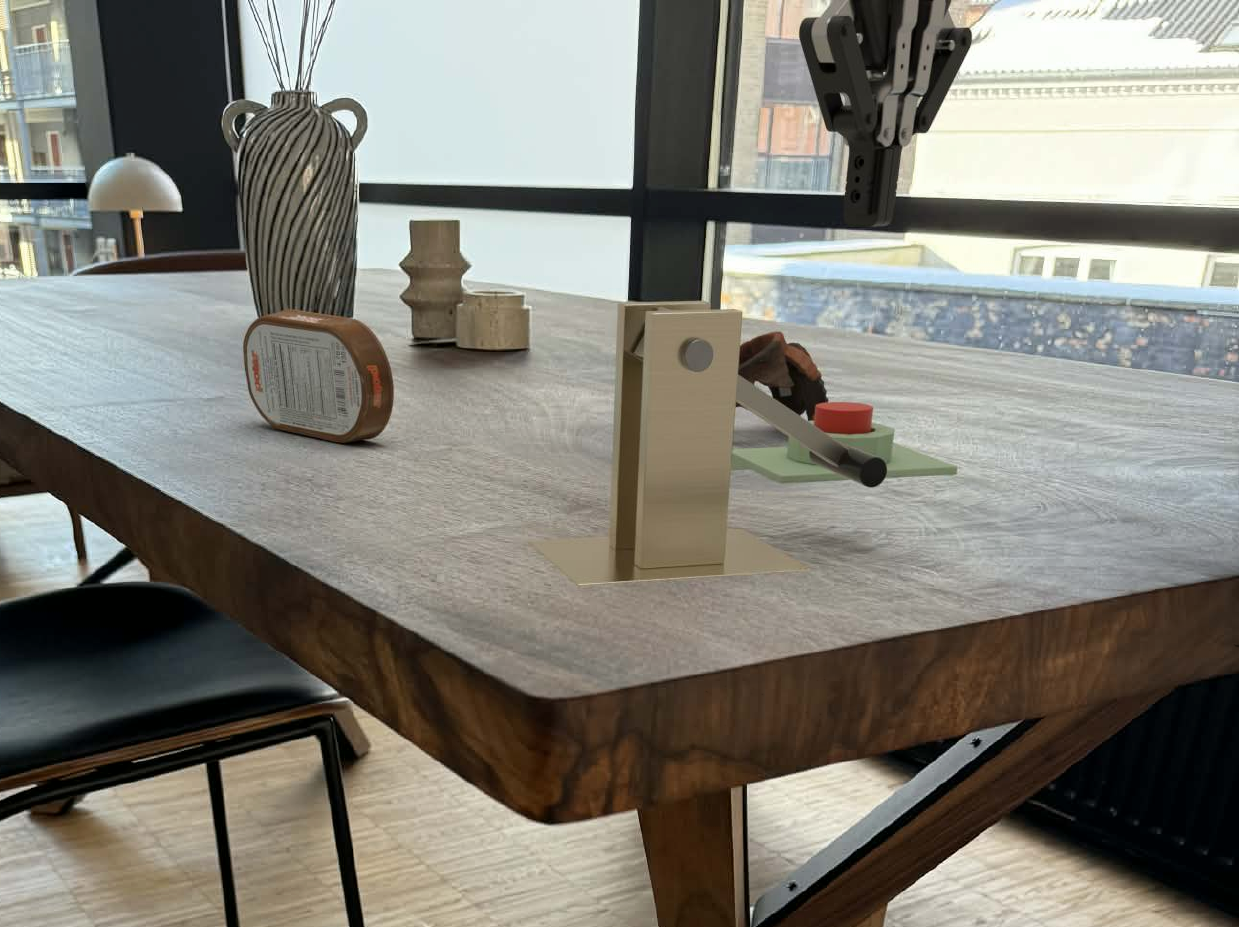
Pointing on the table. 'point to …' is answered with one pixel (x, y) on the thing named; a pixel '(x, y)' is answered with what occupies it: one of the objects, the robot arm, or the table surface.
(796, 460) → the housing
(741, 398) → the lever
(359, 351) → the tin
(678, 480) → the bracket
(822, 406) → the button
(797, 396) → the crumpled brown leather
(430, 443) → the table surface
